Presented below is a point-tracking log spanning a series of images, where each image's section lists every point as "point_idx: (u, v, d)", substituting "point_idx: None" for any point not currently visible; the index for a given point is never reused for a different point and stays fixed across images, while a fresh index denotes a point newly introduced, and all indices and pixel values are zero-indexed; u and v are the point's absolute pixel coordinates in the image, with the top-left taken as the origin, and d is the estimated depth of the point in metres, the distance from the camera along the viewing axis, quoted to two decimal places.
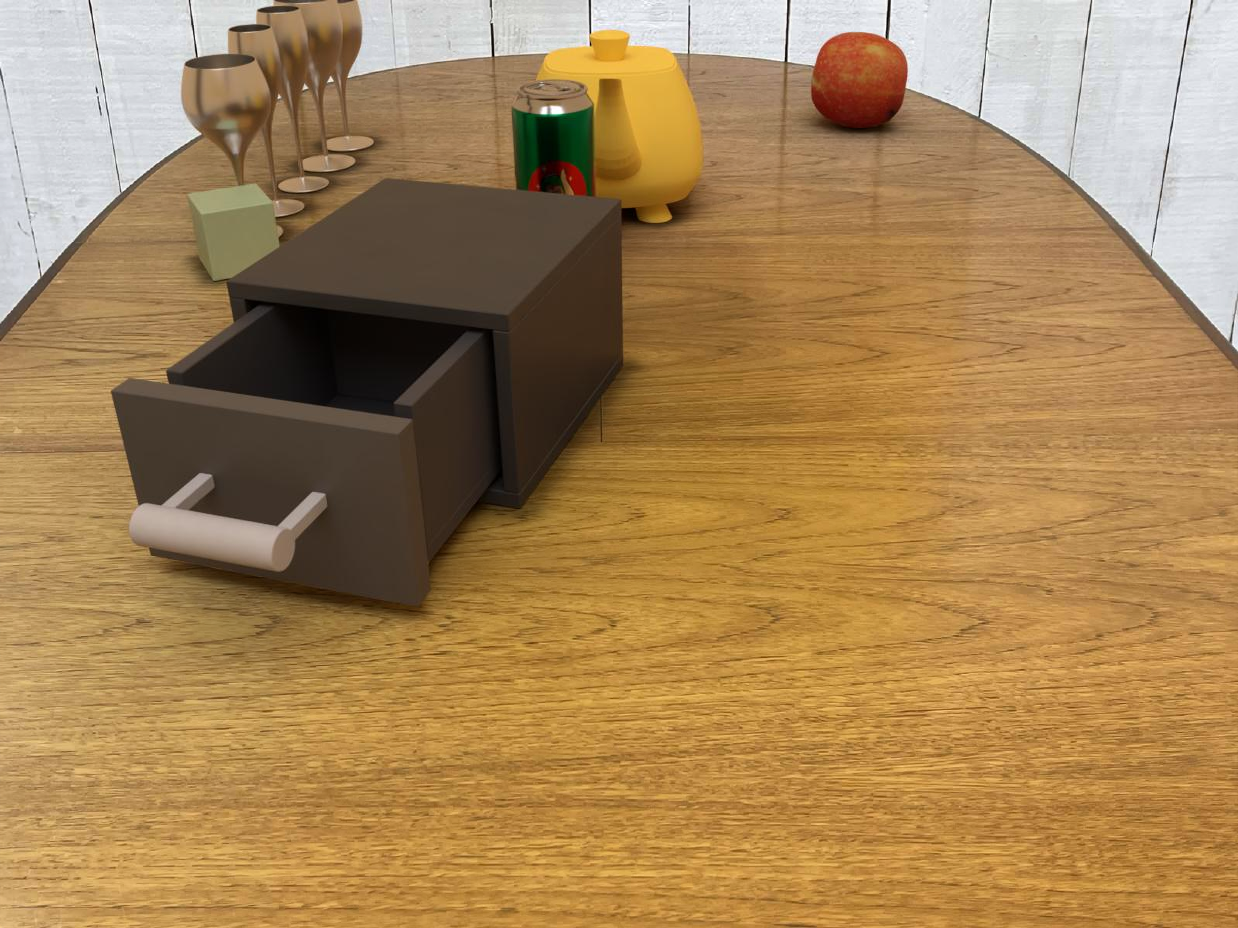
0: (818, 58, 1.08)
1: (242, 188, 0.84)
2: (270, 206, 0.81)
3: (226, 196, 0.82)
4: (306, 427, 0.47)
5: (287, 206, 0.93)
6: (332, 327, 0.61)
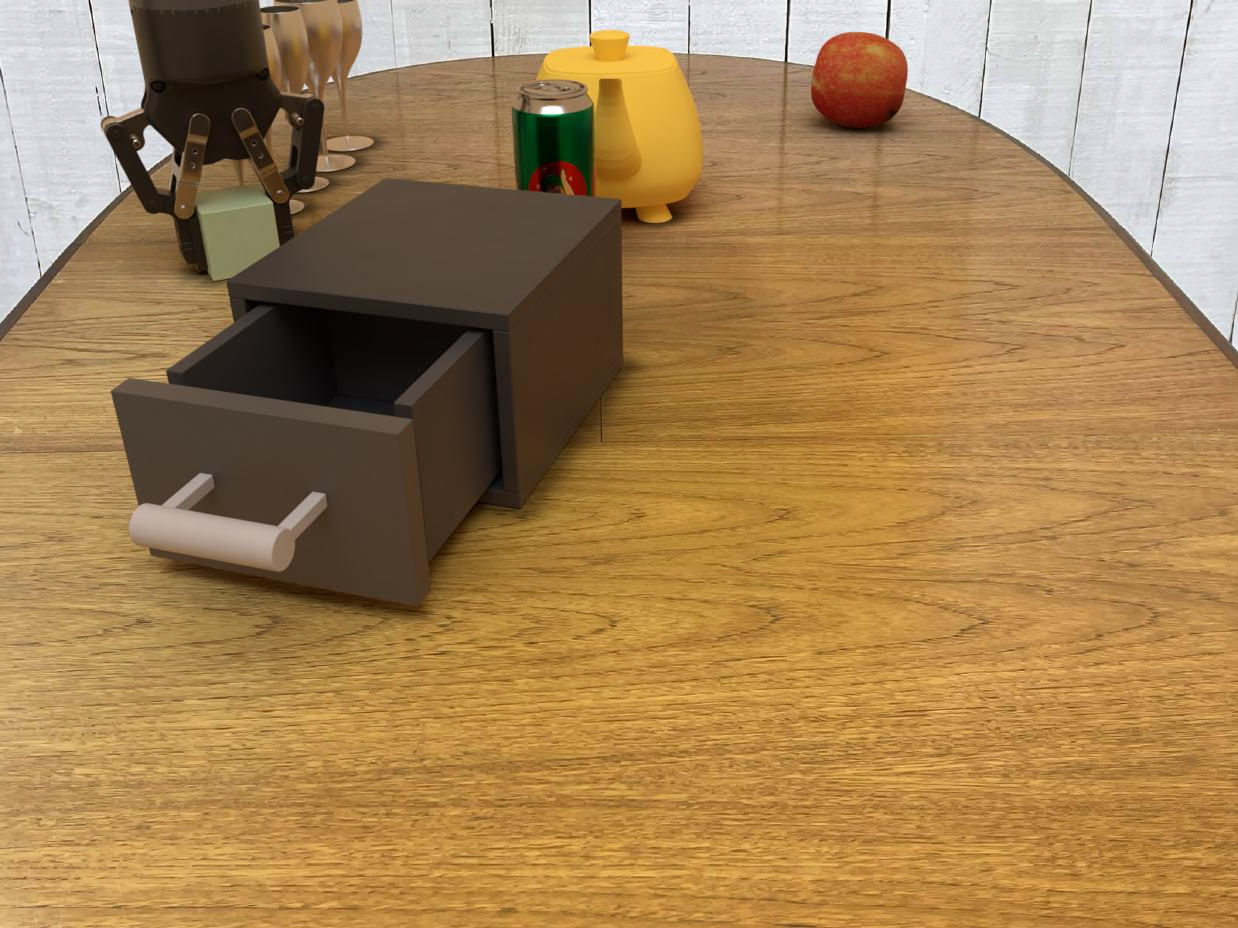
0: (818, 58, 1.08)
1: (242, 188, 0.84)
2: (270, 206, 0.81)
3: (226, 196, 0.82)
4: (306, 427, 0.47)
5: None
6: (332, 327, 0.61)
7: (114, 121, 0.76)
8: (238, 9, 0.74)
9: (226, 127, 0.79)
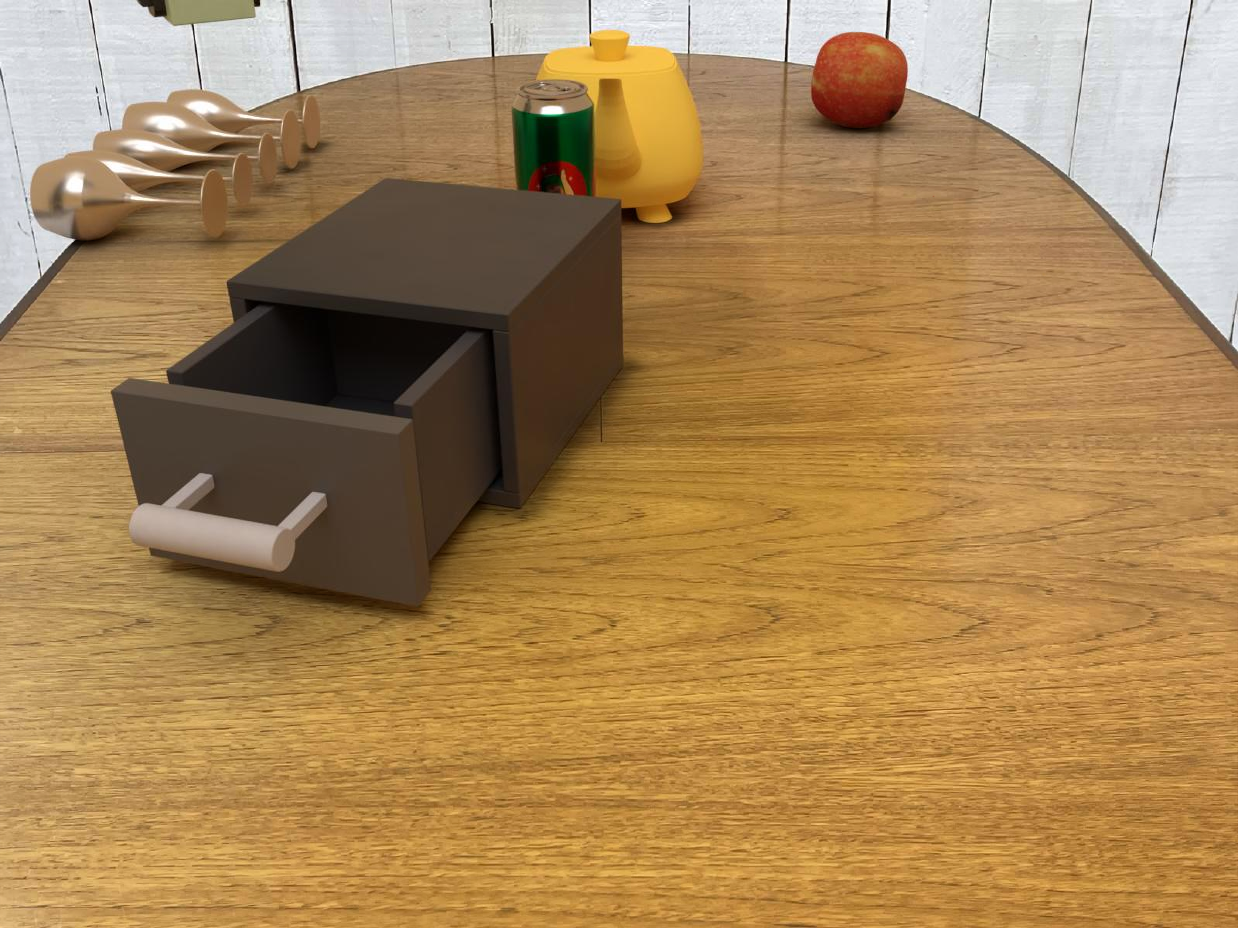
0: (818, 58, 1.08)
1: None
2: None
3: None
4: (306, 427, 0.47)
5: None
6: (332, 327, 0.61)
7: None
8: None
9: None
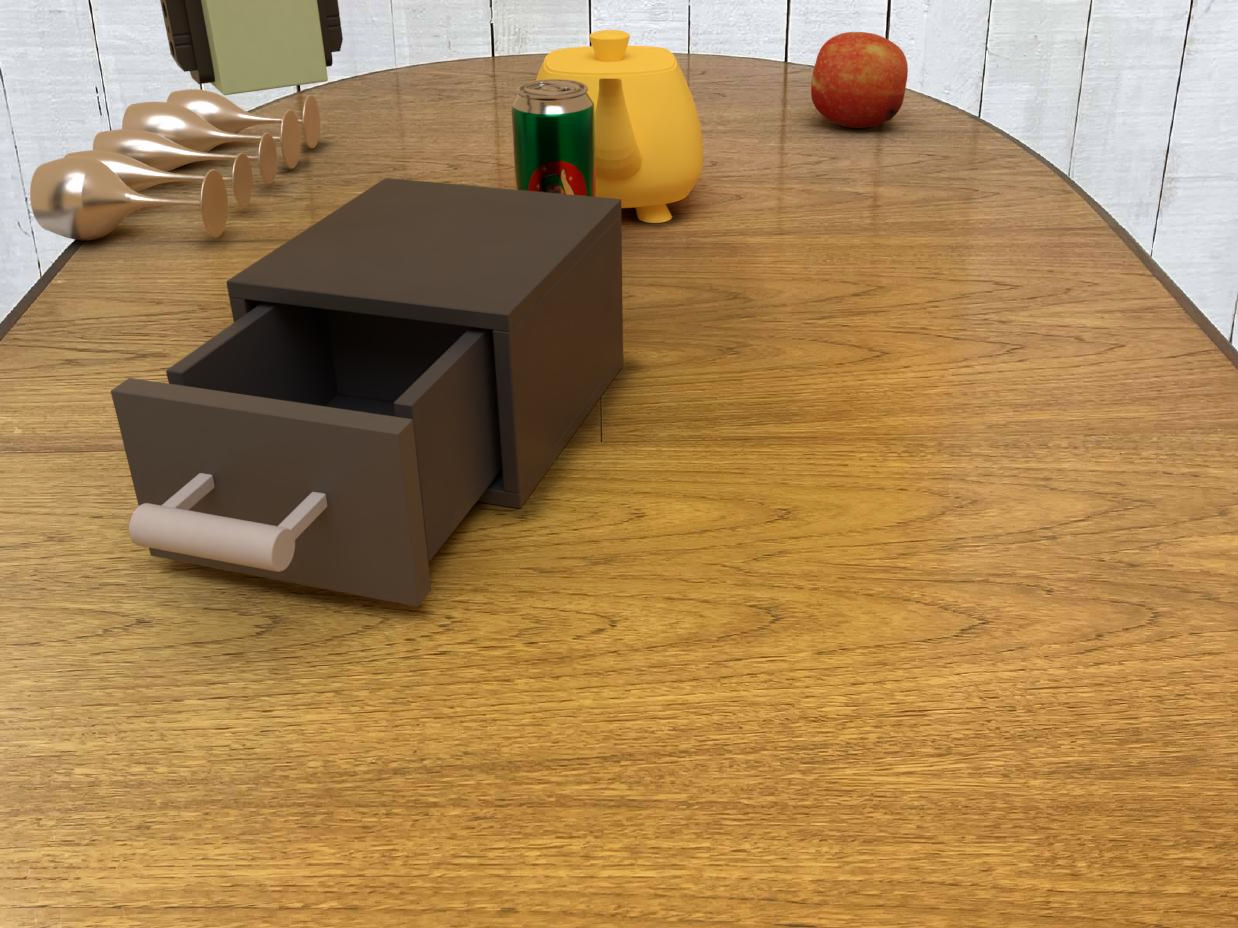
0: (818, 58, 1.08)
1: None
2: None
3: None
4: (306, 427, 0.47)
5: None
6: (332, 327, 0.61)
7: None
8: None
9: None
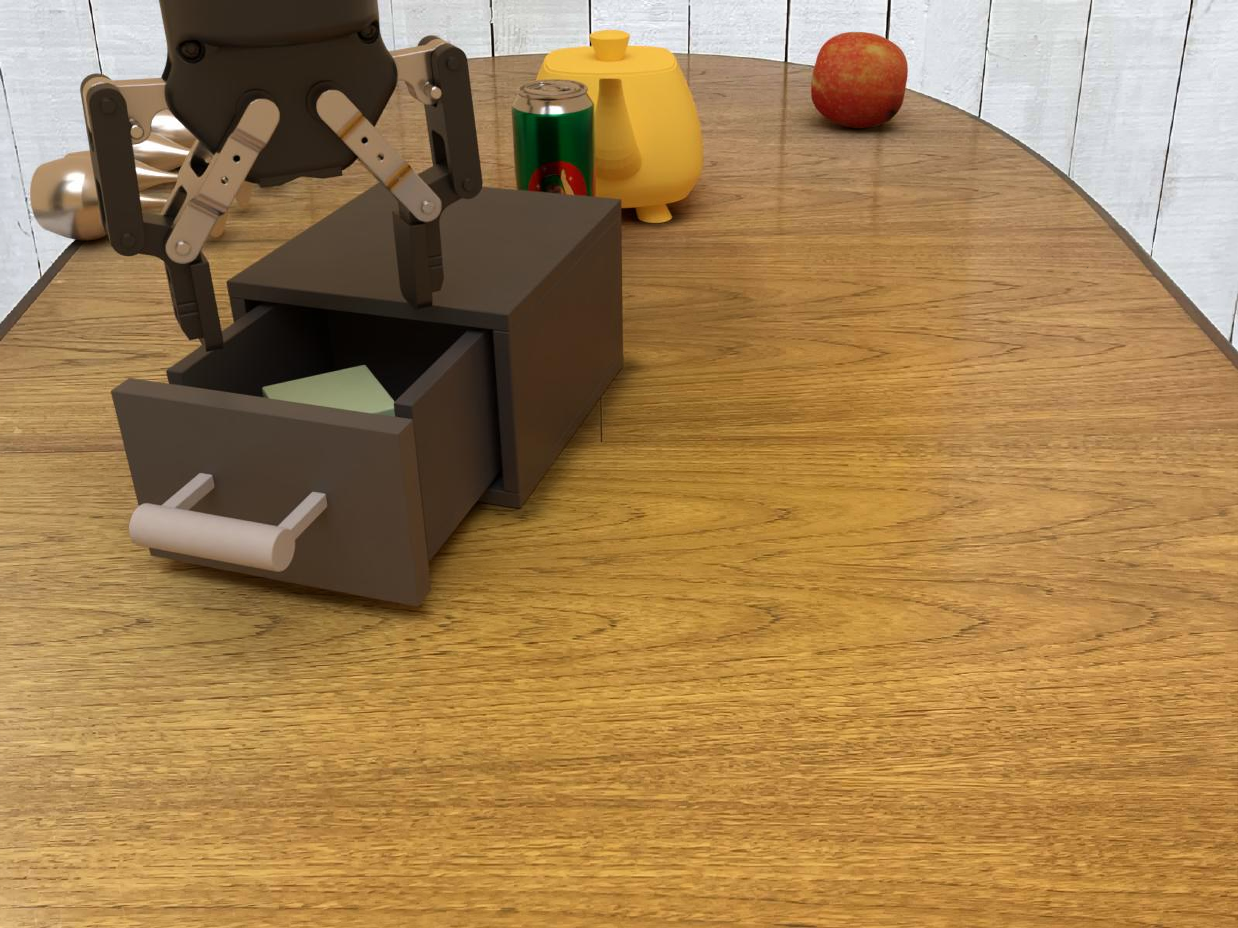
0: (818, 58, 1.08)
1: (346, 376, 0.54)
2: None
3: (323, 392, 0.53)
4: (306, 427, 0.47)
5: None
6: (332, 327, 0.61)
7: (110, 83, 0.43)
8: None
9: (305, 122, 0.46)
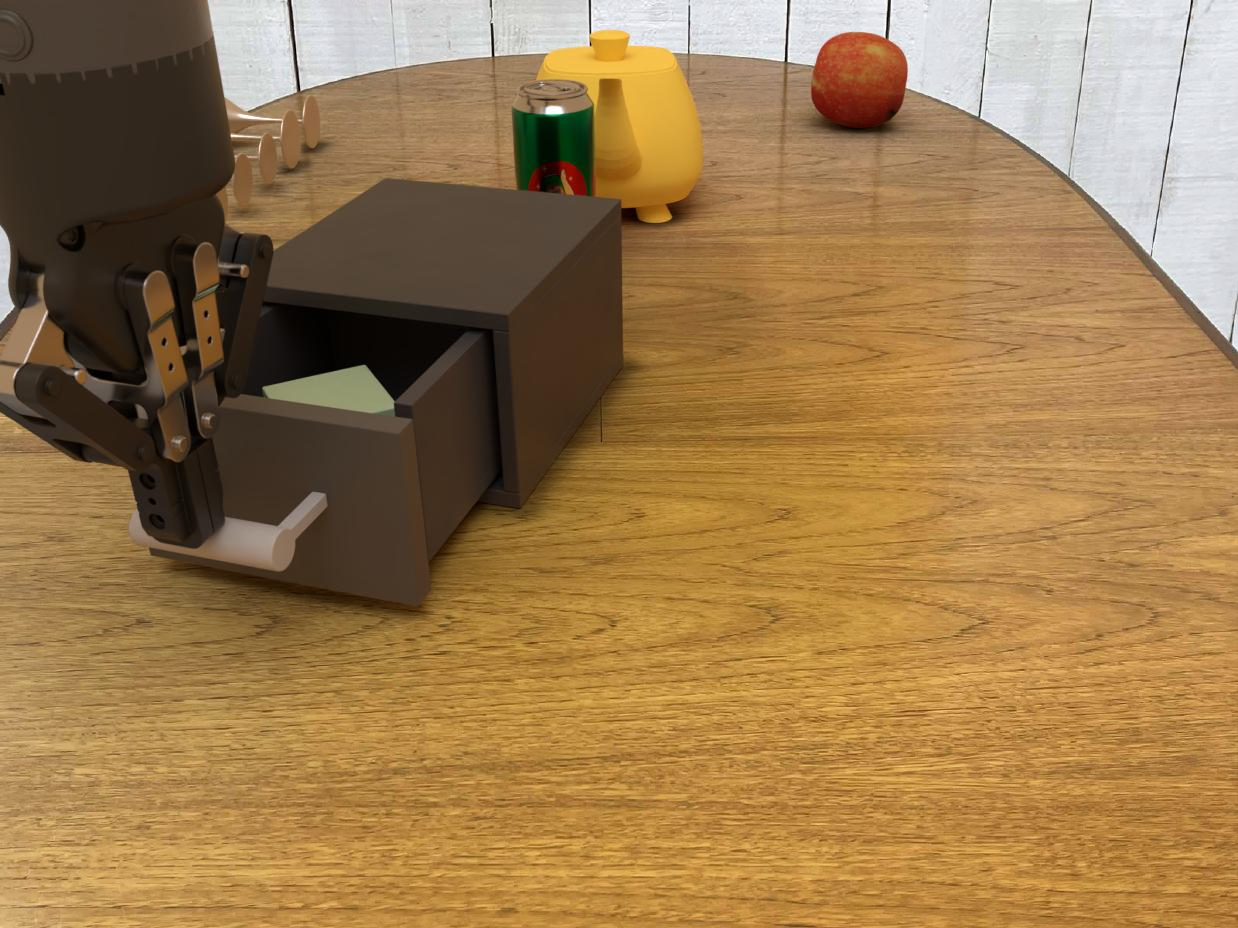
0: (818, 58, 1.08)
1: (346, 376, 0.54)
2: None
3: (323, 392, 0.53)
4: (306, 427, 0.47)
5: None
6: (332, 327, 0.61)
7: (19, 366, 0.35)
8: (215, 46, 0.37)
9: (170, 287, 0.40)
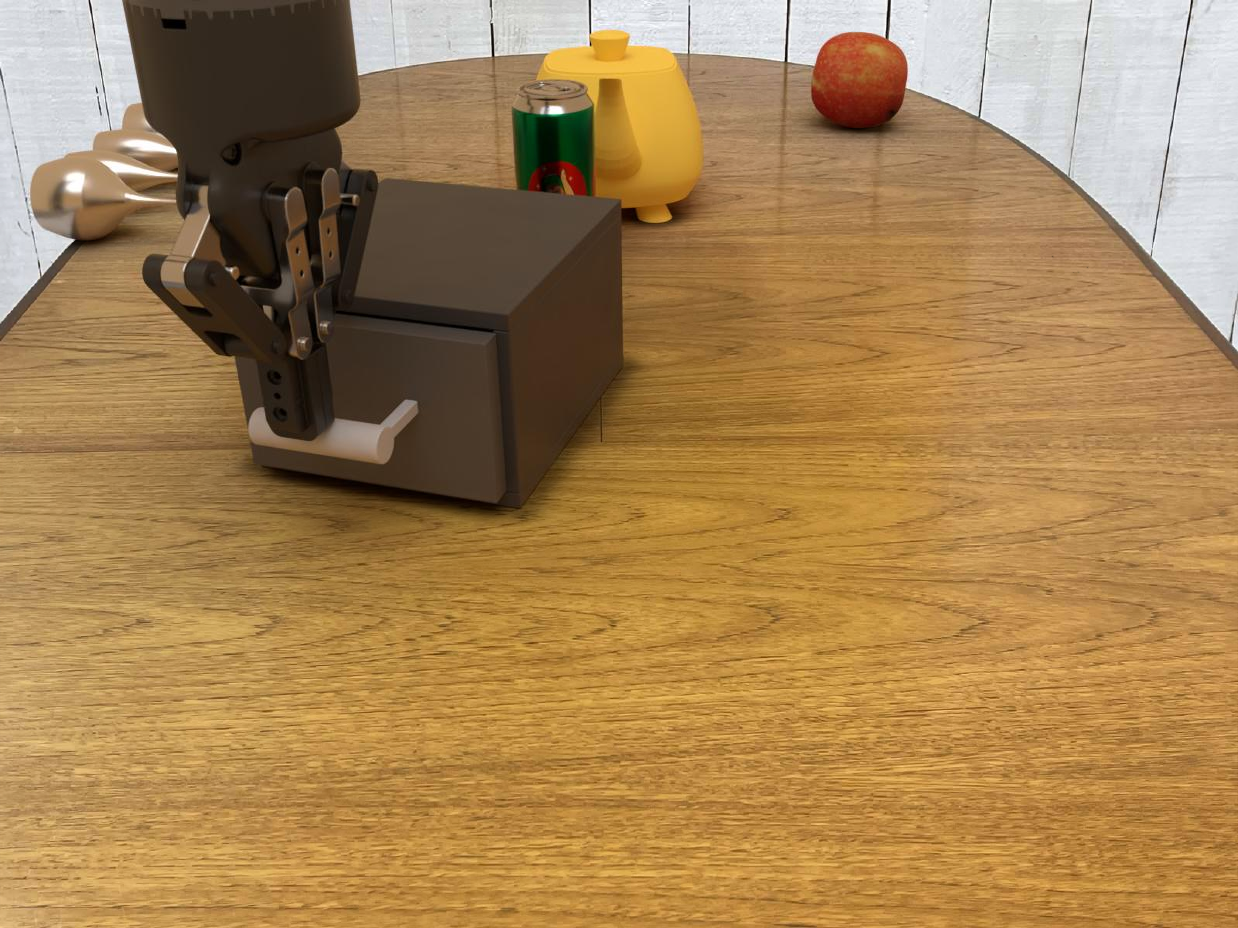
0: (818, 58, 1.08)
1: None
2: None
3: None
4: (402, 340, 0.53)
5: None
6: None
7: (188, 260, 0.42)
8: None
9: None
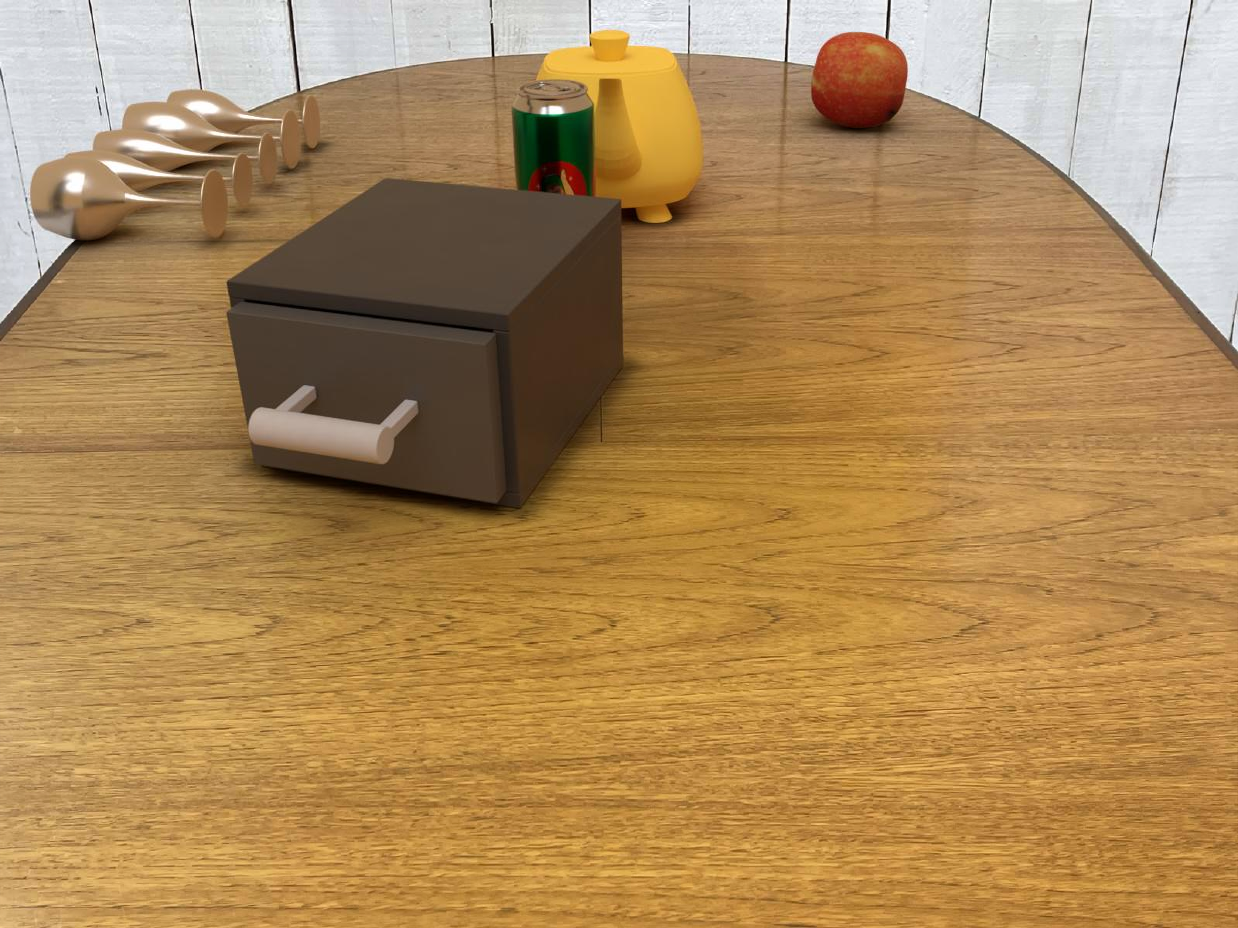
0: (818, 58, 1.08)
1: None
2: None
3: None
4: (402, 340, 0.53)
5: None
6: None
7: None
8: None
9: None
